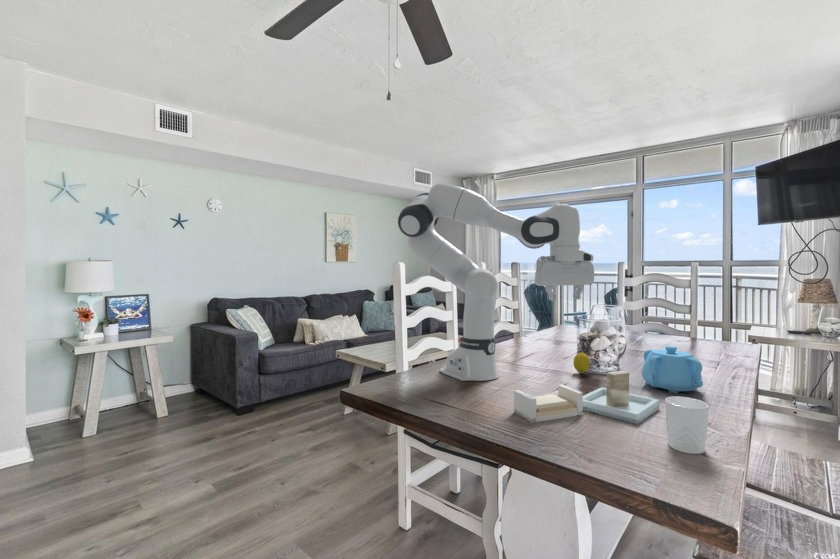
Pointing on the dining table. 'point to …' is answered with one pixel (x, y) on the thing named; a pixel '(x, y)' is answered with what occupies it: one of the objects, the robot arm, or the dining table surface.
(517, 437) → the dining table surface
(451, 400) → the dining table surface
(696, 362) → the decorative pot
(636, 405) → the ceramic tray
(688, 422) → the white cup
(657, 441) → the dining table surface
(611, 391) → the upright wood block
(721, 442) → the dining table surface
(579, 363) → the lemon
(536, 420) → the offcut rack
